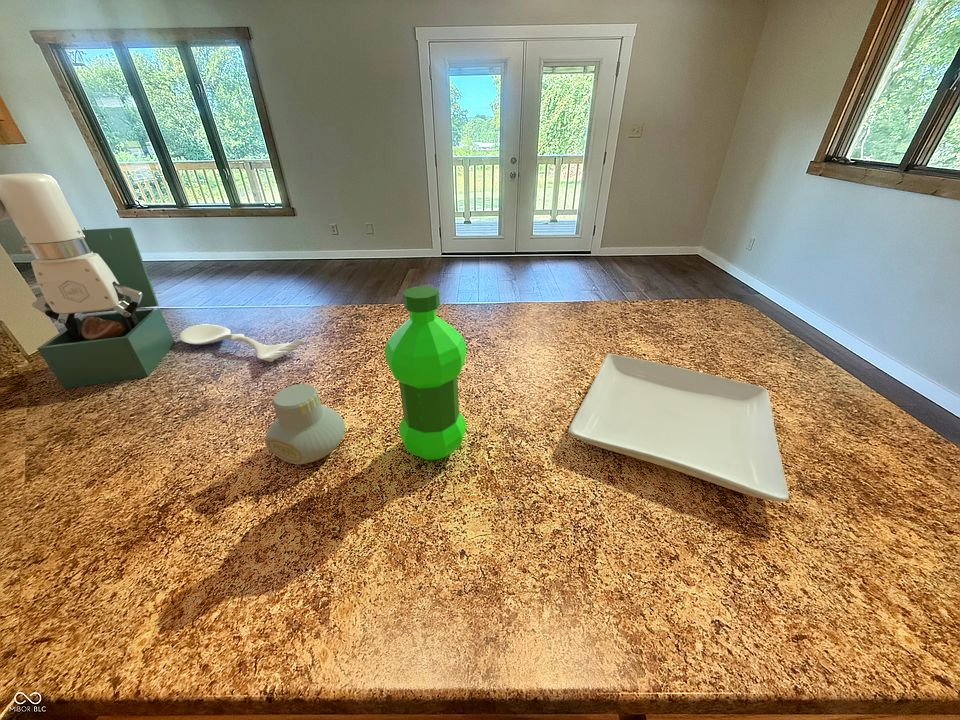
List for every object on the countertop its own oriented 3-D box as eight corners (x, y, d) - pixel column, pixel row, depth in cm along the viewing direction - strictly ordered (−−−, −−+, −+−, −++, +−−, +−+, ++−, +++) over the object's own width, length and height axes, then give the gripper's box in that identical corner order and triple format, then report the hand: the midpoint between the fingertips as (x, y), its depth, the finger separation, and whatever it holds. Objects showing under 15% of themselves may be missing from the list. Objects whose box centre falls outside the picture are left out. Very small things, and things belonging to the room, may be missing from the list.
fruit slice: (143, 336, 79) (132, 314, 77) (107, 351, 74) (94, 328, 71) (116, 331, 82) (104, 309, 79) (79, 344, 76) (65, 322, 74)
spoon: (275, 372, 77) (270, 357, 75) (173, 344, 88) (167, 331, 86) (308, 352, 84) (304, 338, 83) (210, 329, 95) (205, 316, 93)
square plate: (604, 366, 78) (607, 350, 76) (761, 404, 67) (769, 385, 65) (564, 448, 58) (566, 428, 56) (780, 521, 47) (793, 500, 45)
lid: (128, 227, 78) (130, 227, 79) (45, 232, 74) (48, 231, 75) (157, 306, 84) (159, 305, 85) (81, 314, 80) (84, 313, 81)
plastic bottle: (424, 419, 64) (410, 274, 51) (480, 438, 60) (479, 286, 47) (386, 457, 56) (358, 298, 44) (446, 482, 52) (434, 314, 40)
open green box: (148, 376, 76) (127, 337, 72) (64, 389, 72) (36, 348, 68) (175, 342, 89) (159, 307, 84) (104, 351, 85) (84, 315, 81)
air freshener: (357, 439, 60) (345, 387, 55) (320, 477, 53) (302, 421, 48) (303, 423, 63) (288, 372, 58) (262, 456, 57) (240, 402, 52)
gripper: (-17, 259, 63) (44, 350, 72) (110, 250, 68) (152, 337, 77) (15, 248, 69) (67, 334, 78) (129, 241, 74) (166, 322, 83)
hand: (109, 335), depth 77 cm, fingers closed on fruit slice, 8 cm apart
